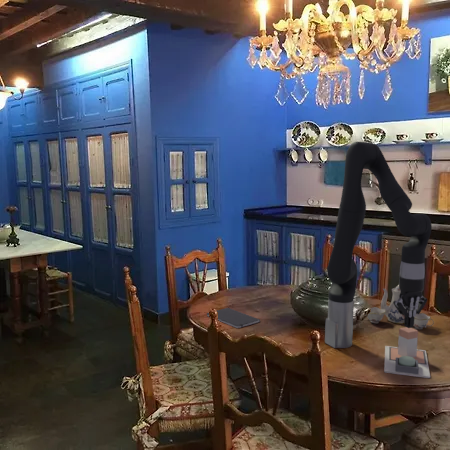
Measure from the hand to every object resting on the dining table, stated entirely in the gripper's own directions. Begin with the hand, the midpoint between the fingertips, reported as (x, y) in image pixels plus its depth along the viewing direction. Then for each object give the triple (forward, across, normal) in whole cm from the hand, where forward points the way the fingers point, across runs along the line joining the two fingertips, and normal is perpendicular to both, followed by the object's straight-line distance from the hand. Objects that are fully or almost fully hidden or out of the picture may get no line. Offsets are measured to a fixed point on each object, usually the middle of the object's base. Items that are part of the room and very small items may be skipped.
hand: (409, 327), depth 167 cm
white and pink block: (+14, +8, +8) cm, 18 cm away
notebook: (+16, -30, +71) cm, 79 cm away
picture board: (+15, +5, +5) cm, 17 cm away
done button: (+13, 0, 0) cm, 13 cm away
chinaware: (+15, +32, +38) cm, 51 cm away
